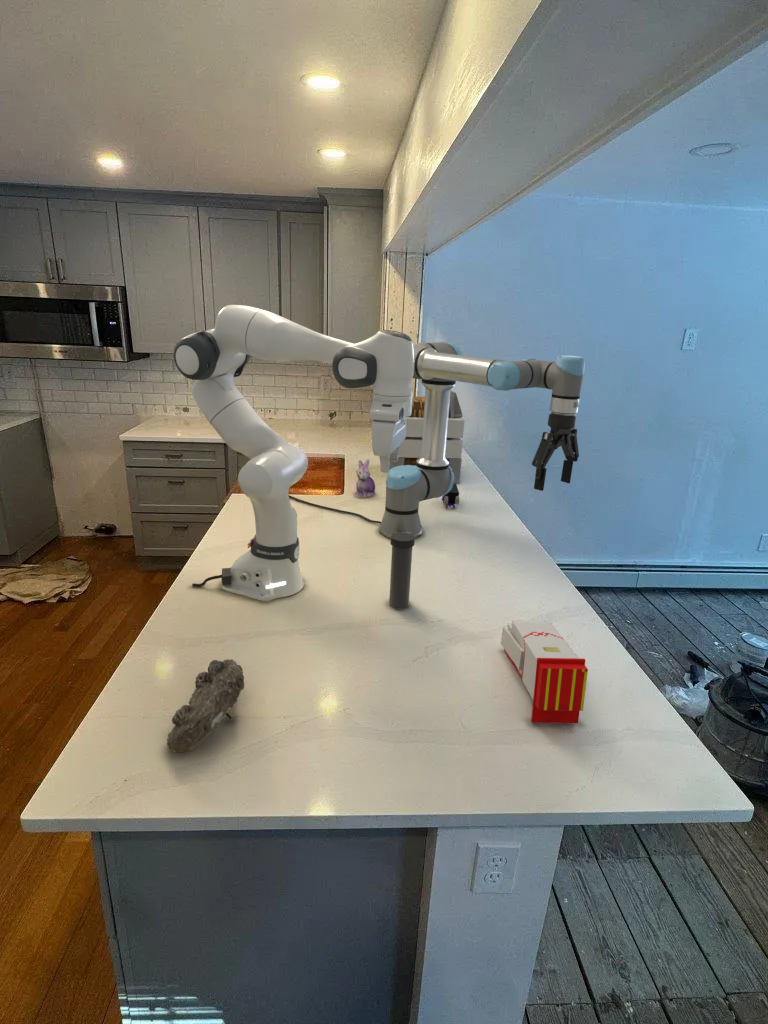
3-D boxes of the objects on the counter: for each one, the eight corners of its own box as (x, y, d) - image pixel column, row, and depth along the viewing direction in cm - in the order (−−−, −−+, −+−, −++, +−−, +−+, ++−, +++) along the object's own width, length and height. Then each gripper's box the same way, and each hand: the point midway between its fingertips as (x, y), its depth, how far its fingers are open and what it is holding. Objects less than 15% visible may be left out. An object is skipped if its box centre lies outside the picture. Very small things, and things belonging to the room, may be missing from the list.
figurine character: (459, 513, 226) (454, 497, 240) (461, 496, 223) (456, 481, 236) (442, 513, 226) (439, 497, 239) (444, 496, 222) (440, 480, 236)
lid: (392, 549, 143) (393, 541, 142) (388, 539, 149) (389, 532, 148) (416, 548, 144) (417, 540, 143) (411, 539, 150) (412, 531, 149)
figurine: (360, 499, 233) (361, 464, 228) (349, 492, 242) (350, 458, 237) (380, 497, 237) (381, 462, 232) (369, 490, 246) (370, 456, 241)
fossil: (192, 660, 117) (244, 628, 112) (224, 691, 120) (276, 661, 115) (142, 746, 98) (202, 712, 93) (182, 779, 101) (242, 748, 96)
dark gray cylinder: (390, 609, 150) (394, 542, 143) (387, 600, 154) (390, 534, 148) (410, 608, 150) (414, 541, 144) (406, 599, 155) (410, 534, 149)
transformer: (382, 463, 289) (386, 382, 275) (445, 464, 293) (451, 384, 279) (390, 482, 257) (394, 392, 243) (460, 483, 261) (468, 394, 247)
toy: (547, 606, 135) (596, 665, 106) (541, 658, 138) (589, 729, 108) (496, 604, 134) (532, 664, 105) (492, 657, 137) (526, 729, 108)
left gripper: (388, 399, 137) (386, 455, 142) (367, 412, 118) (365, 476, 123) (414, 401, 136) (411, 457, 140) (397, 415, 117) (394, 479, 121)
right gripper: (548, 419, 148) (537, 496, 155) (598, 411, 163) (586, 482, 171) (525, 414, 153) (515, 489, 160) (575, 407, 169) (564, 476, 176)
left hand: (389, 466), depth 131 cm, fingers open, 8 cm apart
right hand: (552, 485), depth 166 cm, fingers open, 13 cm apart
